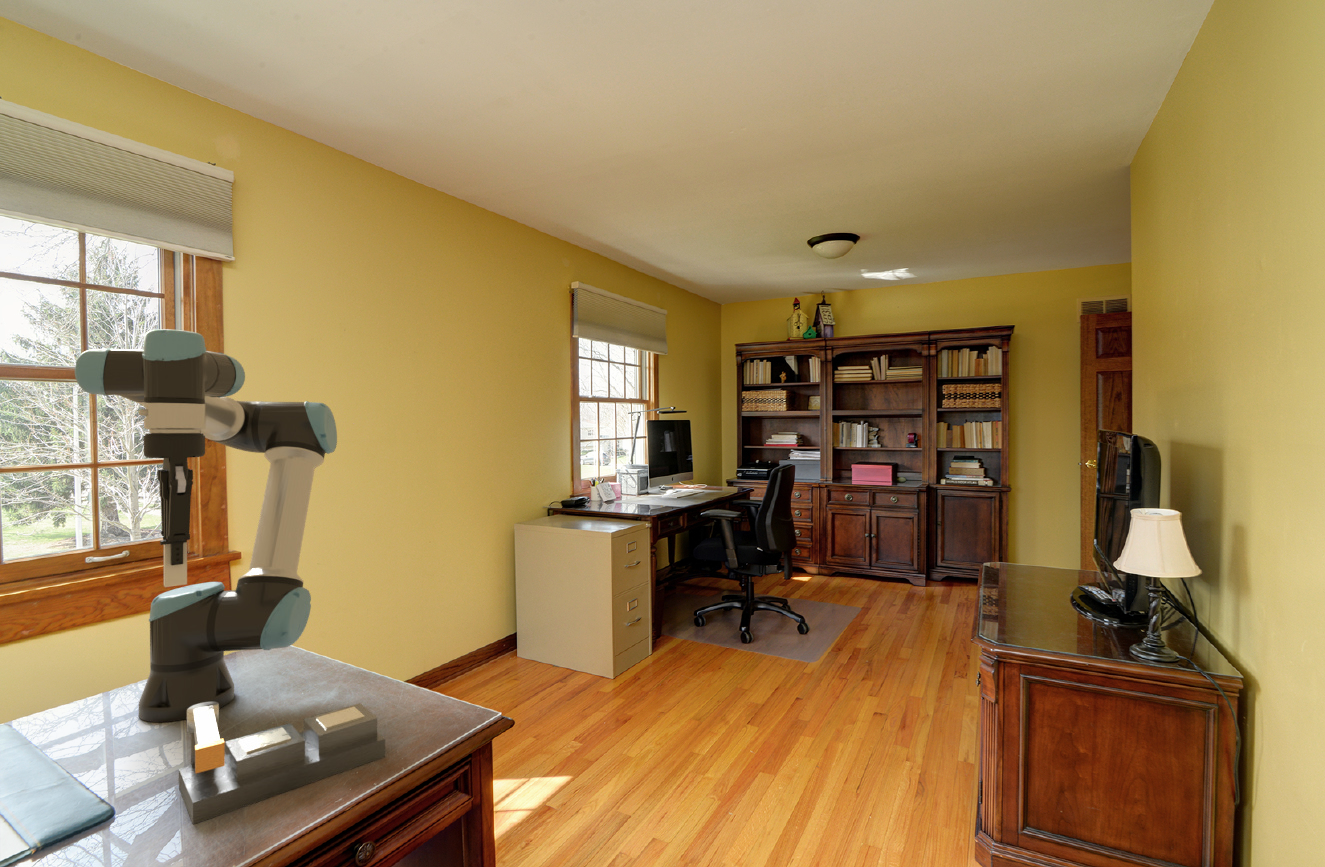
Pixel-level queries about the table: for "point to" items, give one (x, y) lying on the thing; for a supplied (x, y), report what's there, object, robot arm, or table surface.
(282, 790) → the grey stepped block base
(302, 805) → the table surface
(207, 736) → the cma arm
